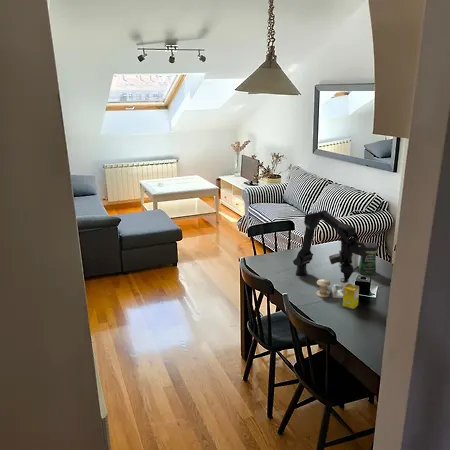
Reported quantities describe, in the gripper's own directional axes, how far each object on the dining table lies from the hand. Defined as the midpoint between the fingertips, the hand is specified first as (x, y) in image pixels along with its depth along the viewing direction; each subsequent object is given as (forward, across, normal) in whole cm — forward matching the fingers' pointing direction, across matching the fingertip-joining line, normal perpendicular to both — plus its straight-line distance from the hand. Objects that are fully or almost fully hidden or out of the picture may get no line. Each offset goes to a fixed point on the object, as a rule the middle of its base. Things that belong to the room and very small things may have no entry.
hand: (345, 278), depth 225 cm
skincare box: (+9, -39, +5) cm, 41 cm away
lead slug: (+8, 0, 0) cm, 8 cm away
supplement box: (+9, +14, +2) cm, 17 cm away
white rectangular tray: (+9, 0, 0) cm, 9 cm away
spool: (+9, +2, -11) cm, 15 cm away
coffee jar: (+9, -29, +15) cm, 34 cm away
